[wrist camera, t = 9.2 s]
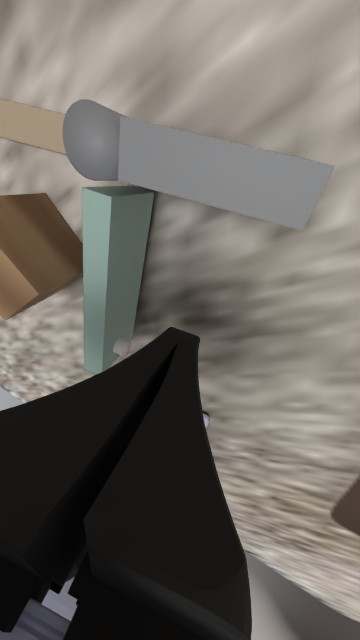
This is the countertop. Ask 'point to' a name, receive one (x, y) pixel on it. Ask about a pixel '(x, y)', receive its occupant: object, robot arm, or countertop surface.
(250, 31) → the countertop surface
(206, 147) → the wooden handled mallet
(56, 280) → the block
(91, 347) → the pale green long block
